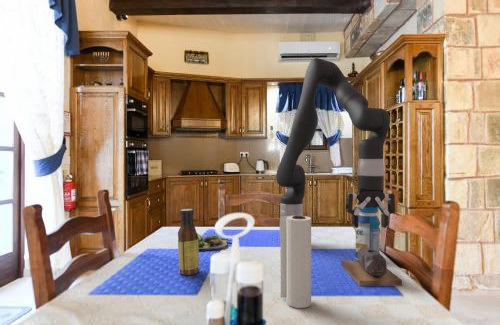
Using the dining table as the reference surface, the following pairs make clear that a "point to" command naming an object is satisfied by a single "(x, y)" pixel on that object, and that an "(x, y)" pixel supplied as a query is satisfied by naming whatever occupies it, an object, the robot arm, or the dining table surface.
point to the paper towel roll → (296, 260)
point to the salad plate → (211, 242)
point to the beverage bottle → (368, 230)
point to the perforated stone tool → (372, 261)
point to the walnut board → (370, 276)
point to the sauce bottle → (188, 244)
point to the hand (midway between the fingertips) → (369, 227)
